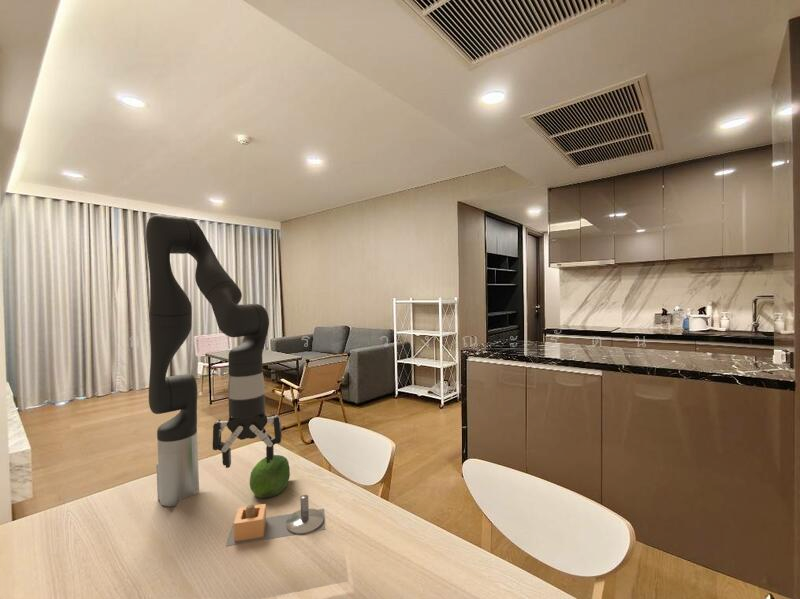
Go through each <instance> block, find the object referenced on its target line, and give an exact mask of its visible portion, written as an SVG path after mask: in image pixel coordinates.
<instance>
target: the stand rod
mask: <svg viewBox="0 0 800 599" xmlns="http://www.w3.org/2000/svg"><path fill="white" fill-rule="evenodd" d="M254 505H255V504H248V505H246V506H245V507H246V519H247V518H254V517H255V506H254Z"/></svg>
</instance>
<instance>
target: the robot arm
mask: <svg viewBox="0 0 800 599" xmlns="http://www.w3.org/2000/svg"><path fill="white" fill-rule="evenodd" d="M145 228H146V229H145V242H146V251H147V252H146V254H147V261H148V271H149V272H148V273H149V297H150V298H149V334H150V335H149V338H150V366H149V369H150V370H149V382H148V404H149V405H148V406H149V409H150V411H151V412H152V414H155V415H160V414H162V415H163V414H166V413H171V412H177V411H179V412H178V413H177V414H176V415H175V416H174V417H172V418H170V419H169V420H167V421H166V422H165V421H164V423H162V424H160V425H159V426H158V428H157V431H156V440H157V442H156V444H157V465H155V466H156V467H155V469H156V486H157V487H156V489H157V500H159V503H160V505H162V507H163V506H164V507H176V506H177V505H178V503H179V502H180V501H182V500H185V499H187V498H189V497H191V496H193V495H194V494H199V493H200V481H199V480H200V475H199V449H198V447H199V446H198V383H197V379H196V378H195V376H194V375H193V374H191V373H186V374H184V373H183V374H178V375H170V376H167V374H168V373H167V372H168V369H169V366H170V363H171V362H172V360H173V358H174V357H175V355H176V353H177V352H178V351H179V350H180V348H181V347H182V346H183V344H184V343H185V342H186V340H187V339H188V337H189V335H190V333H191V331H192V326H193V325H192V323H193V321H192V318H193V310H192V309H193V308H192V307H193V306H192V303H191V301H190V298H189V296H187V294H186V292H185V291H184V289H183V288H182V287H181V285H180V284H179V282H178V281H177V279H176V278H175V276H174V272H173V270H172V266H171V265H172V264H171V254H173V255H175V254H176V255H177V254H178V255H181V254H183V255H184V254H188V255H190V256H191V257H192V258H193V259H194V260H195V261H196V268H195V274H194V275H195V276H194V277H195V278H194V279H195V283H196V285H197V287H198V289H199V291H200V293H202V295H203V296H204V298H205V299H206V300H207V301H208V302H209V304H210V305H211V309H212V312H213V314H214V317H215V322H216V323H217V327H218V329H219V331H221V333H222V334H223V335H225V336H228V337H229V338H240V337H241V338H242V337H243V338H242V341H241V343H240V344H238V345H237V346H236V347H233V348H232V349H230V350H229V352H228V357H227V358H228V359H227V360H228V382H227V391H228V392H227V393H228V420H222V419H219V418H218V419H217V420H216V421H215V422H214V424H213V426H212V429H213V430H212V450H214V451H220V452H221V458H222V460H221V461H222V465H223V466H224V467H225V468H226V469H229V468H230V467H231V464H232V454H231V452H232V450H231V449H232V448H231V446H232V445H233V443H234V442H235V441H236V439H238V440H240V441H243V440H246V439H255V438H257V437H258V439H259V440H260V441H262V442H263V443H264V444H265V445H266V447H265V448H266V449H265V451H266V453H265V454H266V456H265V457H266V458H267V463H270V461H271V460H272V459H273V456H274V455H275V454H274V453H275V452H274V450H275V449H274V446H275V445H276V444H280V443H281V442H282V426H281V425H282V424H281V417H280V416H281V415H280V414H279V413H276V414H275V415H273V416H267V415H266V395H265V393H266V392H265V390H266V386H265V378H264V371H263V370H264V369H263V368H264V366H263V352H264V348H265V345H266V341H267V337H268V332H269V327H270V318H269V314H268V312H267V310H266V308H265V307H264V306H263V305H262V304H259V303H246V304H239V303H240V302H241V300H242V296H243V294H242V291H241V288H240V287H239V286H238V284H237V283H235V281H234V280H233V279H232V278H231V276H230V275H229V274H228V273H227V271H226V270H225V268H223V266H222V264H221V263H220V261H219V260H218V258H217V256H216V254H215V253H214V250H213V248H212V246H211V245H210V243H209V241H208V239H207V237H206V236H205V233H204V232H203V229H202V228H201V227H200V225H199V224H198V223H197V222H196V221H195V220H194V219H192V218H188V217H184V216H175V215H167V214H166V215H165V214H153V215H151V216H150V217H149V219H147V222H146V227H145ZM267 423H269V424H270V426H271V427H273V428H274V436H273V437H272V435H271V434H270V433H269V431H268V430H267V429H266V426H267ZM226 427H227V428H228V430H229V431H230V432H231V433H230V435H229V437H228V438H227V440H225V442H224V441H222V432H224V430H225V428H226Z"/></svg>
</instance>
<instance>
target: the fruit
mask: <svg viewBox="0 0 800 599" xmlns="http://www.w3.org/2000/svg"><path fill="white" fill-rule="evenodd" d="M290 472H291V471H290V465H289V460H288V458H287V457H285V456H283V455H279V454H277V455H276V454H274V456H273V459H272V460H271V461H270V463H267V458H266V456H265V457H263V458H262V459H261V460H259V462H257V463H256V465H255V466H254V467H253V468H252V470H251V472H250V477H249V488H250V491H251V492H252V493H253V494H254V496H255V497H257V498H260V499H270V498H273V497H275V496H277V495H279V494H281V493H282V492H283V490H284V489H285V488H286V487H287V485H288V483H289V479H290V476H291V473H290Z"/></svg>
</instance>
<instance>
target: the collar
mask: <svg viewBox="0 0 800 599" xmlns="http://www.w3.org/2000/svg"><path fill="white" fill-rule="evenodd" d="M253 505H254V506H255V517H254V518H247V519H246V507H247V506H242V507H241V506H239V507H238V509H237V512H236V515H235V518H234V520H233V523H234V542H235V541H241V540H247V539H253V538H259V537H263V536H264V531H265V525H266V518H267V504H266V503H262V504H253Z"/></svg>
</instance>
